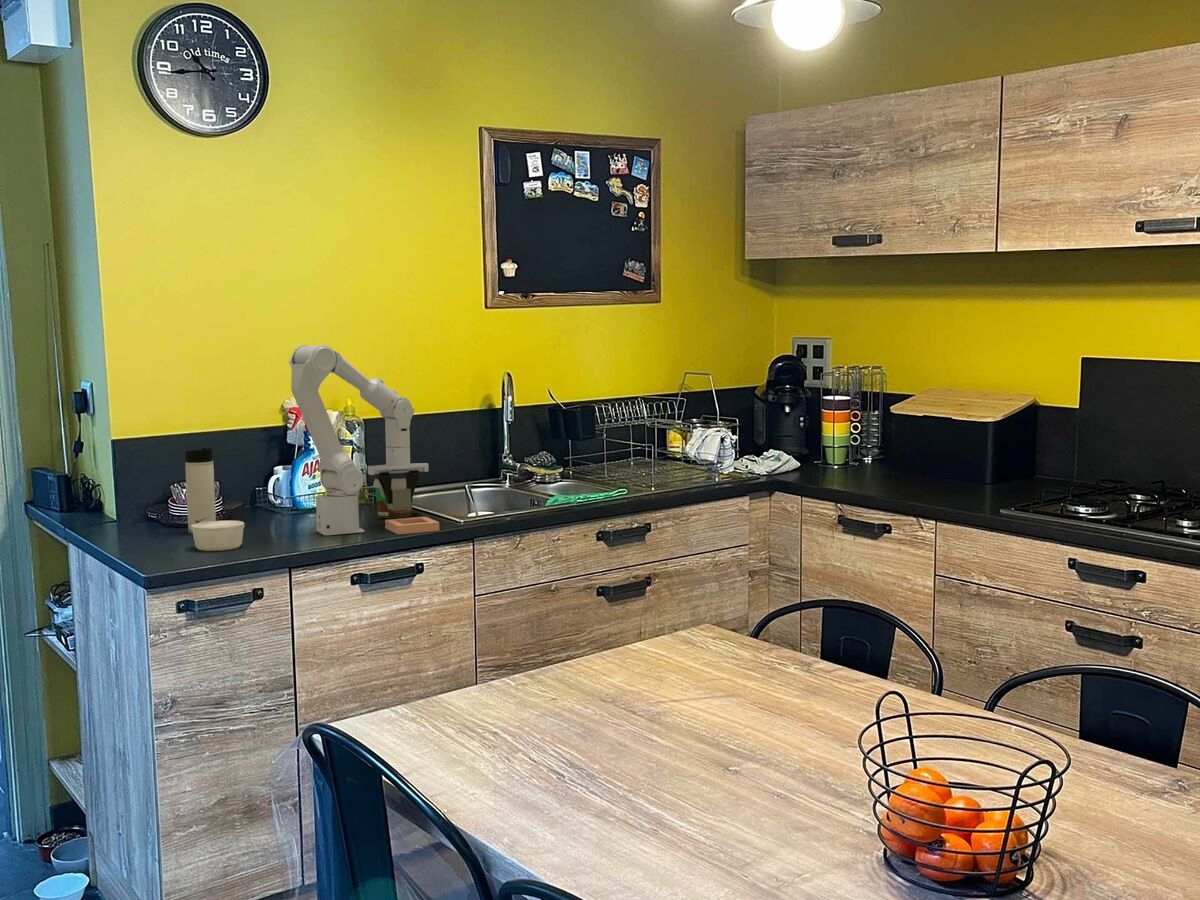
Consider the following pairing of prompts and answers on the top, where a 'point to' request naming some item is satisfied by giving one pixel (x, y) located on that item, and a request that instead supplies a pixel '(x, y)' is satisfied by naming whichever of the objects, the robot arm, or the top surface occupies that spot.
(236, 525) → the ramekin
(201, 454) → the travel mug
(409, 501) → the steel block
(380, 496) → the food container
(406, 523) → the hole plate
